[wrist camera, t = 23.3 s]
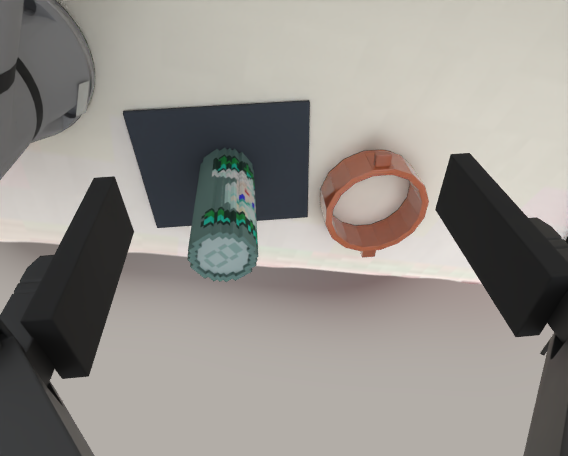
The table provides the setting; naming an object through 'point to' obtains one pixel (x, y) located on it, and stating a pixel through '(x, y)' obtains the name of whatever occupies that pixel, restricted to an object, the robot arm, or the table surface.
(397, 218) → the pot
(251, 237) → the can
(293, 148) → the mat
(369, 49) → the table surface
